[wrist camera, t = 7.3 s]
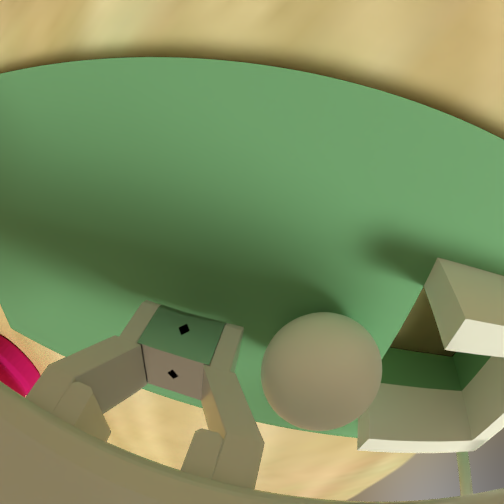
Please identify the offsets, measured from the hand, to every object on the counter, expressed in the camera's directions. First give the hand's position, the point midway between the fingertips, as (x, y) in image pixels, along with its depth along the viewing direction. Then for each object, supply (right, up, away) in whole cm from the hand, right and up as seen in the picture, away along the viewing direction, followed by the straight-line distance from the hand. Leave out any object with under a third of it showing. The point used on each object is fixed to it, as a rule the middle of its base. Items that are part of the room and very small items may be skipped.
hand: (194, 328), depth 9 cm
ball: (+4, -1, -1) cm, 4 cm away
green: (+2, +1, +2) cm, 4 cm away
